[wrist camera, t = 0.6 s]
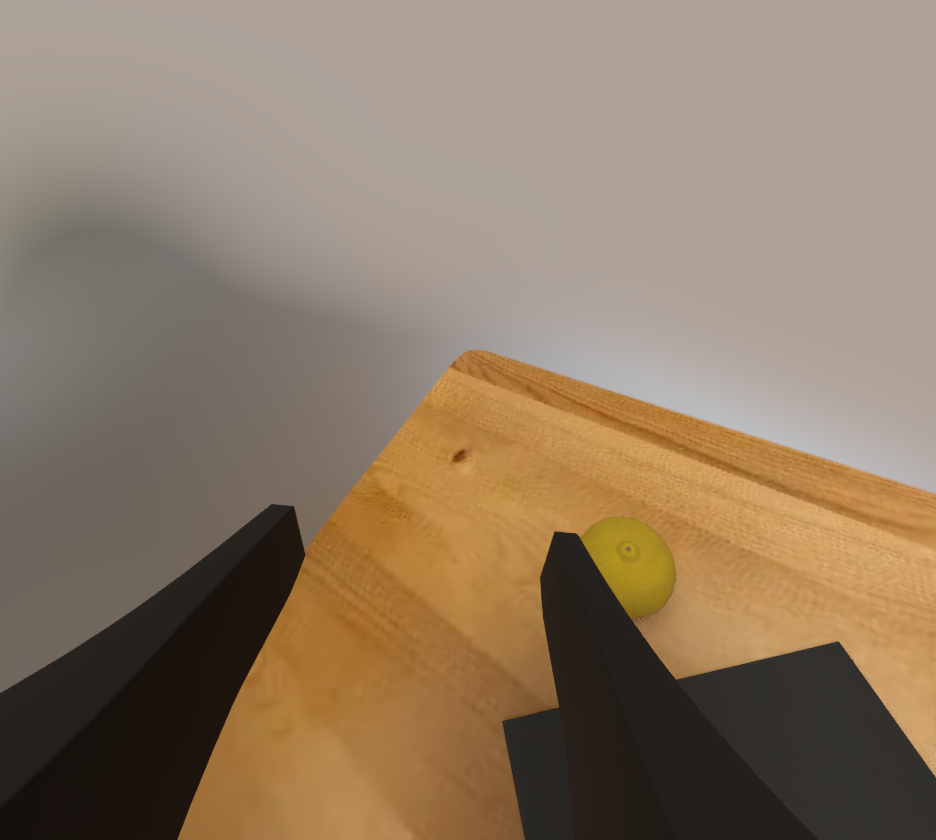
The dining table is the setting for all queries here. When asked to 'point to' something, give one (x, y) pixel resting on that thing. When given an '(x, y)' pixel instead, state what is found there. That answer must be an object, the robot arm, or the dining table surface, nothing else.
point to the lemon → (632, 563)
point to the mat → (771, 749)
